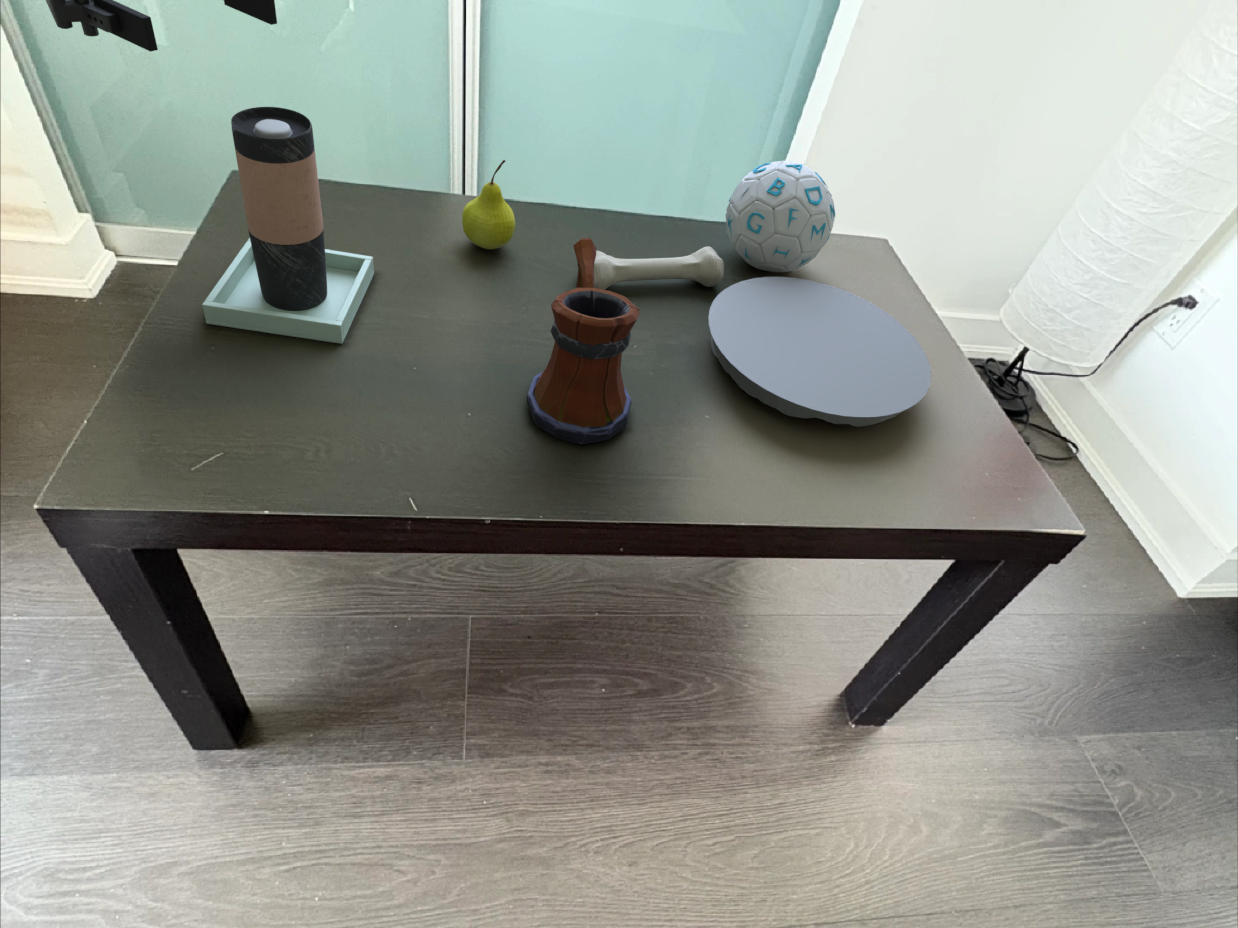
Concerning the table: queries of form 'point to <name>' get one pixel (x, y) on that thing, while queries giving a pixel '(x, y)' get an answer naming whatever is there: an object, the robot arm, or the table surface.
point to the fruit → (489, 218)
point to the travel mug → (282, 205)
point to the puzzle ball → (780, 216)
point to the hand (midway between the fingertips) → (215, 21)
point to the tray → (246, 309)
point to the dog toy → (659, 268)
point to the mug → (585, 360)
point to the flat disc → (817, 351)
